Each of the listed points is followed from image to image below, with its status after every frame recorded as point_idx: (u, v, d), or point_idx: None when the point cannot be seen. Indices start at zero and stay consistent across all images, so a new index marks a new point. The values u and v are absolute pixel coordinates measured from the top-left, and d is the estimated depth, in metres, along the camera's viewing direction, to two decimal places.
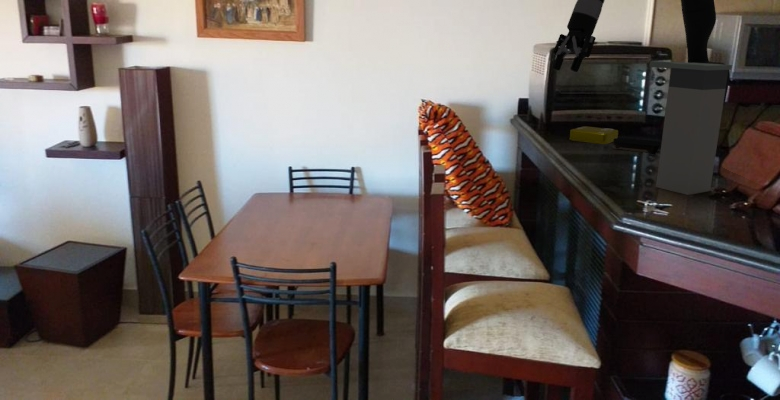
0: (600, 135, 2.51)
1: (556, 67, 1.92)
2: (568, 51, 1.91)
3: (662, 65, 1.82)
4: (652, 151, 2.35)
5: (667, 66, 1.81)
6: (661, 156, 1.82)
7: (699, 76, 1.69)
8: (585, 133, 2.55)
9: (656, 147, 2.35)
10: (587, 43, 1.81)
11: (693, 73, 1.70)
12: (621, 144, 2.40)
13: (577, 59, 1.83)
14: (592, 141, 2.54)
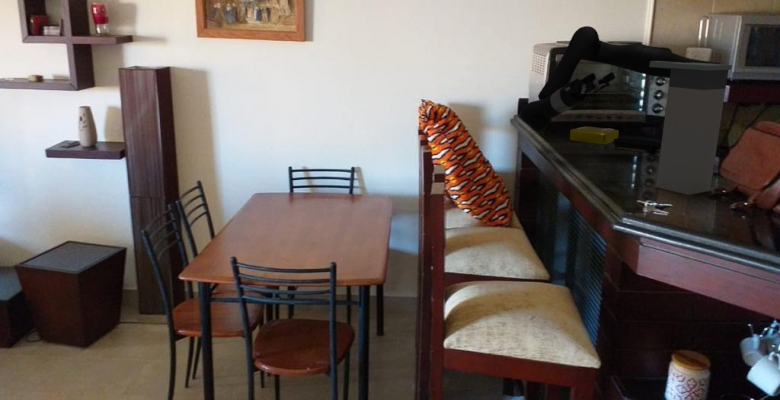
0: (600, 135, 2.51)
1: (611, 76, 2.04)
2: (595, 80, 2.08)
3: (662, 65, 1.82)
4: (650, 151, 2.35)
5: (667, 66, 1.81)
6: (661, 156, 1.82)
7: (699, 76, 1.69)
8: (585, 133, 2.55)
9: (654, 147, 2.34)
10: (571, 89, 2.04)
11: (693, 73, 1.70)
12: (620, 144, 2.40)
13: (586, 82, 2.01)
14: (592, 141, 2.53)
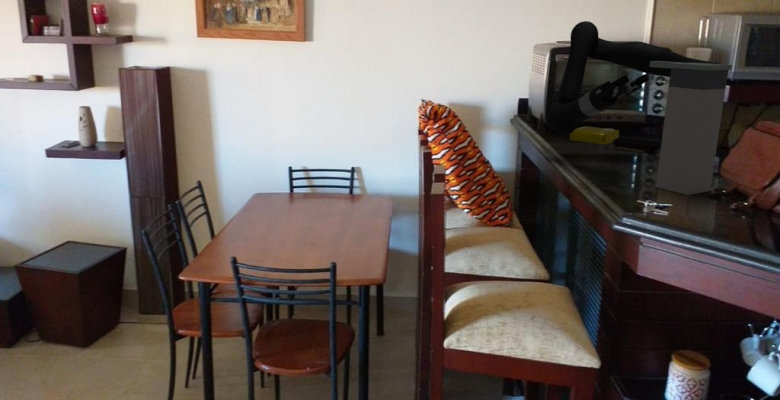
0: (599, 135, 2.51)
1: (645, 78, 1.93)
2: (627, 82, 1.98)
3: (662, 65, 1.82)
4: (648, 151, 2.34)
5: (667, 66, 1.81)
6: (661, 156, 1.82)
7: (699, 76, 1.69)
8: (585, 133, 2.55)
9: (652, 147, 2.34)
10: (602, 92, 1.94)
11: (693, 73, 1.70)
12: (619, 144, 2.41)
13: (618, 84, 1.91)
14: (592, 141, 2.53)
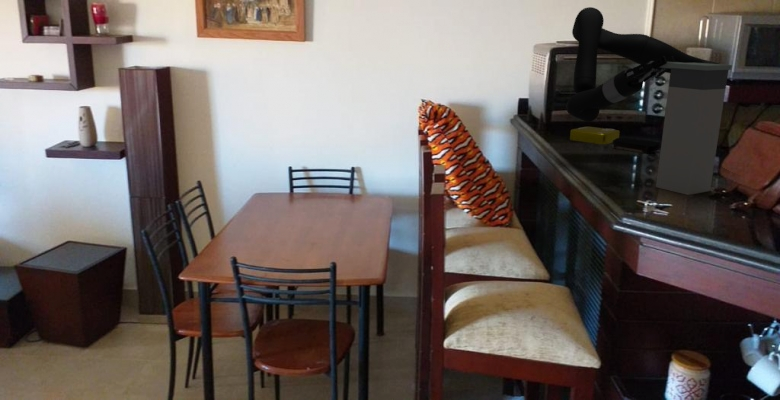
0: (599, 135, 2.51)
1: (671, 60, 1.83)
2: None
3: None
4: (646, 151, 2.34)
5: (667, 66, 1.81)
6: (661, 156, 1.82)
7: (699, 76, 1.69)
8: (585, 133, 2.55)
9: (650, 148, 2.33)
10: (636, 74, 1.84)
11: (693, 73, 1.70)
12: (618, 143, 2.41)
13: (655, 66, 1.83)
14: (591, 141, 2.53)
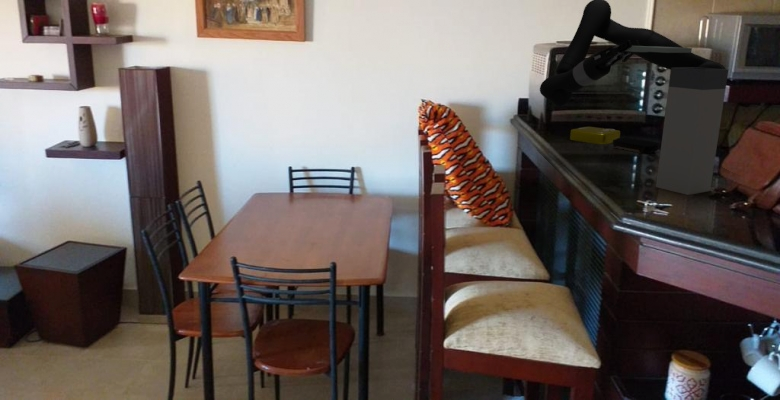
0: (599, 135, 2.51)
1: (636, 44, 1.92)
2: None
3: None
4: (643, 151, 2.34)
5: (632, 50, 1.90)
6: (661, 156, 1.82)
7: (699, 76, 1.69)
8: (585, 133, 2.55)
9: (647, 148, 2.33)
10: (603, 57, 1.93)
11: (693, 73, 1.70)
12: (618, 143, 2.42)
13: (620, 50, 1.92)
14: (591, 141, 2.53)
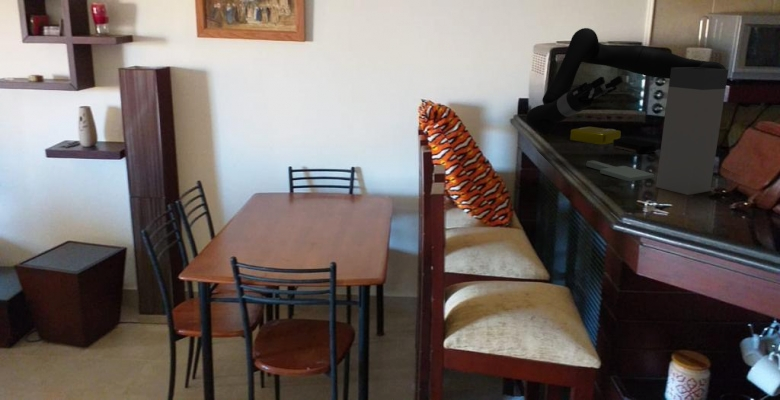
0: (598, 135, 2.50)
1: (619, 80, 2.01)
2: (602, 84, 2.05)
3: (596, 166, 2.05)
4: (639, 151, 2.34)
5: (600, 168, 2.04)
6: (661, 156, 1.82)
7: (699, 76, 1.69)
8: (584, 133, 2.55)
9: (643, 148, 2.33)
10: (579, 93, 2.01)
11: (693, 73, 1.70)
12: (617, 143, 2.43)
13: (594, 86, 1.99)
14: (591, 141, 2.53)
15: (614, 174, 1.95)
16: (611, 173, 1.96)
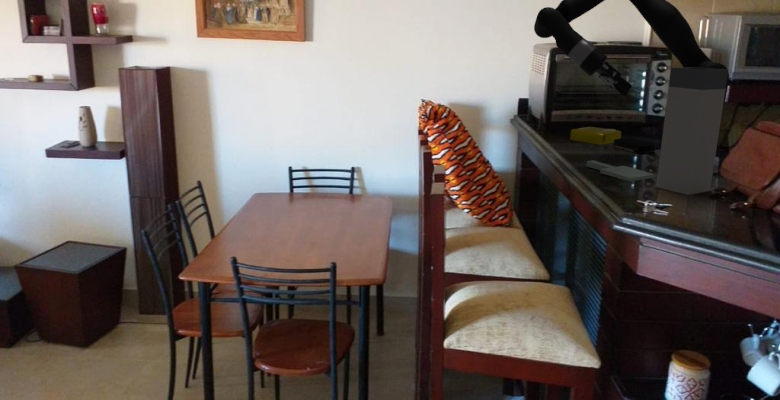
0: (598, 135, 2.50)
1: (625, 93, 2.00)
2: None
3: (596, 166, 2.05)
4: (636, 151, 2.34)
5: (600, 168, 2.04)
6: (661, 156, 1.82)
7: (699, 76, 1.69)
8: (584, 133, 2.55)
9: (640, 148, 2.33)
10: (607, 72, 1.91)
11: (693, 73, 1.70)
12: (617, 142, 2.43)
13: (619, 83, 1.92)
14: (591, 141, 2.53)
15: (614, 174, 1.95)
16: (611, 173, 1.96)
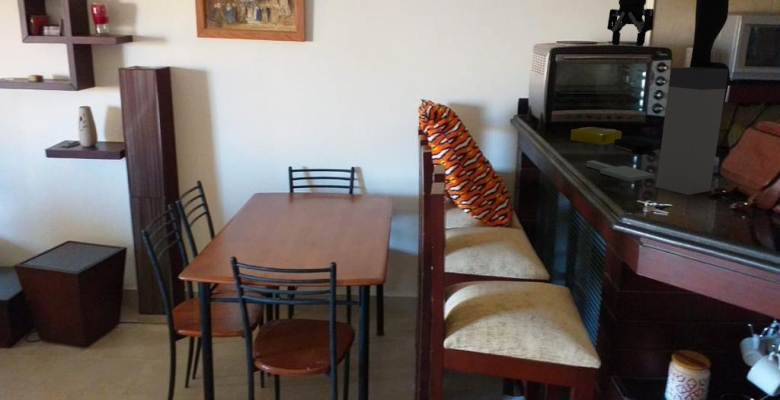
0: (598, 135, 2.50)
1: (616, 43, 1.96)
2: (623, 24, 1.95)
3: (596, 166, 2.05)
4: (634, 151, 2.34)
5: (600, 168, 2.04)
6: (661, 156, 1.82)
7: (699, 76, 1.69)
8: (584, 133, 2.55)
9: (637, 148, 2.33)
10: (648, 18, 1.85)
11: (693, 73, 1.70)
12: (617, 142, 2.44)
13: (641, 34, 1.88)
14: (590, 141, 2.53)
15: (614, 174, 1.95)
16: (611, 173, 1.96)
